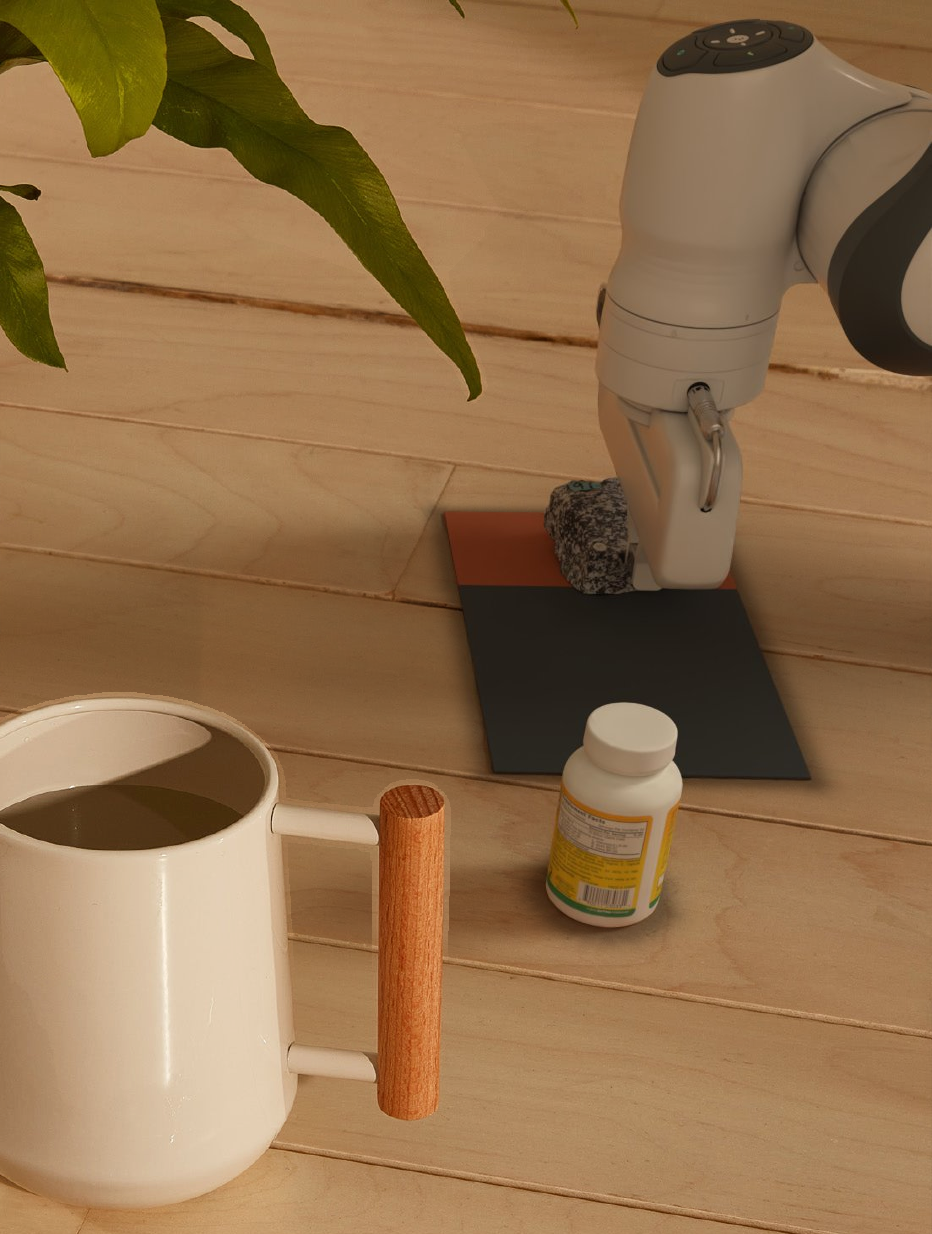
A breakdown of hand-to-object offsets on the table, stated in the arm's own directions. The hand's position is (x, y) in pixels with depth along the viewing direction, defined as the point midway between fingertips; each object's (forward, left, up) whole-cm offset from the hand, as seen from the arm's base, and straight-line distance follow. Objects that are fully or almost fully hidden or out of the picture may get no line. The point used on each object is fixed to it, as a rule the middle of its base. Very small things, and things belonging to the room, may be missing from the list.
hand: (643, 578), depth 122 cm
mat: (+2, +3, -2) cm, 4 cm away
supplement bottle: (+6, +27, -2) cm, 27 cm away
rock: (0, -6, -2) cm, 6 cm away
